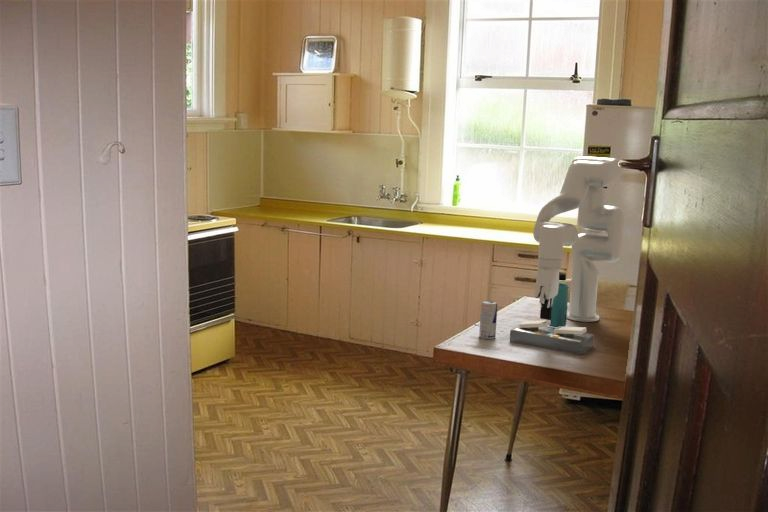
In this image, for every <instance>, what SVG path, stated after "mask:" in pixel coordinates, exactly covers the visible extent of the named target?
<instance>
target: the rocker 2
mask: <svg viewBox="0 0 768 512" xmlns="http://www.w3.org/2000/svg"><path fill="white" fill-rule="evenodd" d="M555 328H556V329H554V333H562V334H583V333H587V327H584V326H583V327H582V326H565V327H564V326H559V327H555Z"/></svg>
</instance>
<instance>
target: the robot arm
mask: <svg viewBox="0 0 768 512" xmlns="http://www.w3.org/2000/svg"><path fill="white" fill-rule="evenodd" d="M572 159H573V160H572V161H571V164H570V165H569V167H568V169H567V172H566V175H565V178H564V181H563V184H562V187H561V189H560V192H559V195H557V196H555V197H554V198H553V199H551V200H549V201H548V202H547V203H546V204H545V205H543V207H542V208H541V210H540V211H539V213H538V215H537V217H536V221H535V222H534V223H535V224H534V227H533V234H532V235H533V238H534V240H535V241H536V243H538V256H537V268H538V269H537V274H536V280H535V288H534V298H535V299H538V298H539V301H538V302H539V304H540V314H539V318H540V319H541V320H549V319H551V313H552V304H553V299H554V297H555V296H557V294H558V289H559V282H560V280H559V273H560V270H561V269H562V262H563V253H564V247H571V256H572V267H571V270H572V271H571V282H570V295H569V306H568V310H567V319H568V320H571V321H576V322H584V323H592V322H593V323H594V322H597V321H599V320H600V315H599V314H597V313H596V309H597V298H598V297H597V296H598V286H599V275H600V274H599V268H598V267H597V265H596V263H595V261H596V262H604V263H611V264H612V263H616V262H618V261H619V260H620V257H621V252H622V245H623V243H622V242H623V233H624V222H625V219H624V216H625V215H624V212H623V210H622V209H621V207H619V206H616V205H605V202H604V201H605V188H606V187H607V188H608V187H609V186H611V185H613V184H615V183H616V182H618V181H619V179H620V177H621V175H622V168H621V167H622V166H621V167H619V166H618V162H619V161H620V160H619V159H618V158H616V157H615V158H614V157H602V156H600V157H599V156H585V155H582V156H577V157H576V156H575V158H572ZM576 209H578V215H577V216H578V217H577V219H578V226H579V227H580V228H581V229H583V230H588V231H594V232H602V233H603V232H604V233H606V234H607V235H604V234H603V235H602V234H596V233H589V232H588V233H586V232H584V233H583V232H582V233H579V230H578V228H577V226H576V225H574V224H572V223H567V222H557V221H552V219H553V218H554V217H556V216H557V215H560V214H564V213H567V212H570V211H573V210H576Z"/></svg>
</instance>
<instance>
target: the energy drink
mask: <svg viewBox="0 0 768 512" xmlns="http://www.w3.org/2000/svg"><path fill="white" fill-rule="evenodd" d="M497 318H498V302H497V301H495V300H482V301H481V304H480V318H479V320H480V321H479V332H478V333H479V335H478V336H479V337H481V338H480V339H483V340H494V339H495V338H496V335H497Z"/></svg>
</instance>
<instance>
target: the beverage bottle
mask: <svg viewBox="0 0 768 512" xmlns="http://www.w3.org/2000/svg"><path fill="white" fill-rule="evenodd" d="M566 280H567V274H566V273H562V272H559V289H558V294H557V296H555V297H554V299H553V304H552V313H551V319H549V320H550V321H551V324H550V325H548V327H553V328H557V327H559V326H564V327H567V321H568V320H567V319H568V318H567V312H568V300H569V299H568V298H569V297H568V296H569V288H570V287H569V285H568V284H567V283H566V282H561V281H566Z"/></svg>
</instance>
